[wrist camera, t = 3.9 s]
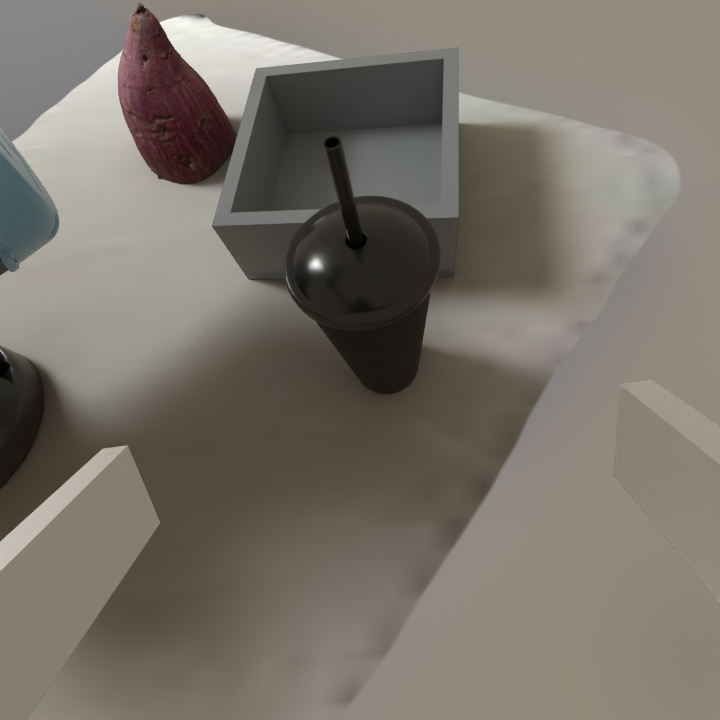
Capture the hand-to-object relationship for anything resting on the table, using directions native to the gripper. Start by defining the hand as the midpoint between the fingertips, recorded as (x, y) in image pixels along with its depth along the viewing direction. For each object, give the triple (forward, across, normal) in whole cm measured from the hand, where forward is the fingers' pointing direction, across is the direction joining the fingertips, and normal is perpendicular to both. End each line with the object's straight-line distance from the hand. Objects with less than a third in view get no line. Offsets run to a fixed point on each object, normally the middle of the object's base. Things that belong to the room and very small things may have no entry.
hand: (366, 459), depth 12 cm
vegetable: (+41, -18, +14) cm, 47 cm away
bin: (+33, -1, +7) cm, 34 cm away
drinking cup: (+21, 0, -6) cm, 22 cm away
